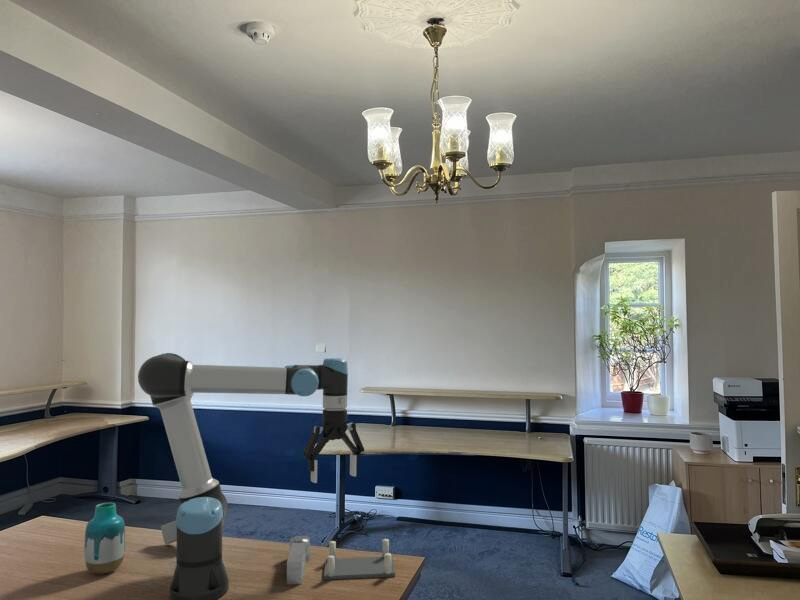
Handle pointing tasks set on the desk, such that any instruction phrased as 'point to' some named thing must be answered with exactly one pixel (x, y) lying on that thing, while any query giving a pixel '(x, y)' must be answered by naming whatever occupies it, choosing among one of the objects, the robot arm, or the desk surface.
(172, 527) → the white stapler
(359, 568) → the pad
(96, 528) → the vase
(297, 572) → the grey ball-ended handle
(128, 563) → the desk surface
